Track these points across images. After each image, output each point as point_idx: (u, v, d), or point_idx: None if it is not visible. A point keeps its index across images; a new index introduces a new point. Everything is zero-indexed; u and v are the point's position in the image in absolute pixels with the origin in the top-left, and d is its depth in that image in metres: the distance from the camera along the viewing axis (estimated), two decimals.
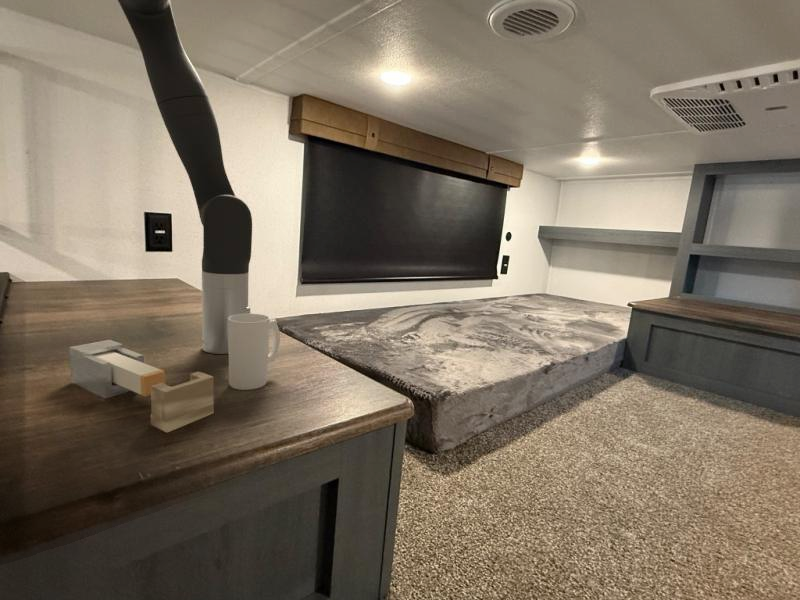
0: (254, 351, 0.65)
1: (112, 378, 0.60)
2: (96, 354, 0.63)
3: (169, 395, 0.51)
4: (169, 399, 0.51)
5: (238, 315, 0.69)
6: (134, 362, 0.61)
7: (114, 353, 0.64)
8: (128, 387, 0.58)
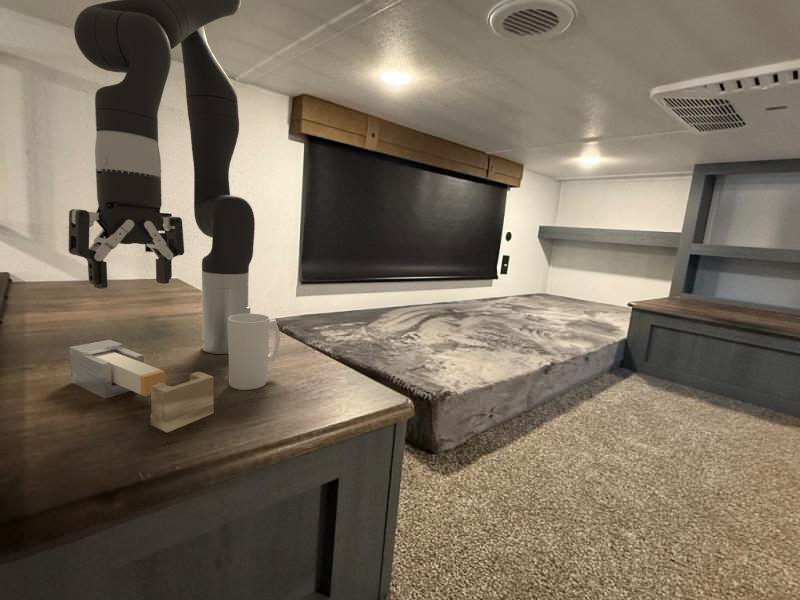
0: (254, 351, 0.65)
1: (112, 378, 0.60)
2: (96, 354, 0.63)
3: (169, 395, 0.51)
4: (169, 399, 0.51)
5: (238, 315, 0.69)
6: (134, 362, 0.61)
7: (114, 353, 0.64)
8: (128, 387, 0.58)
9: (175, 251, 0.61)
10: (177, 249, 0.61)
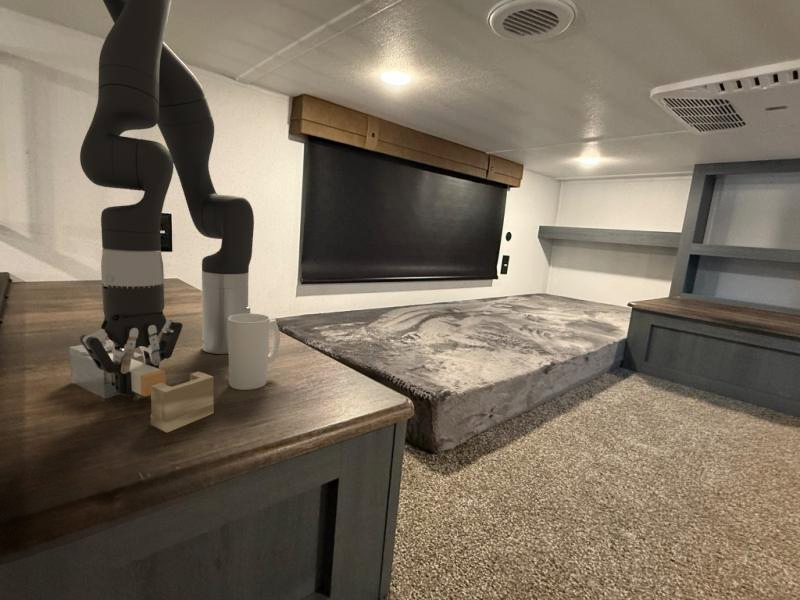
0: (254, 351, 0.65)
1: (112, 378, 0.60)
2: None
3: (169, 395, 0.51)
4: (169, 399, 0.51)
5: (238, 315, 0.69)
6: (134, 362, 0.61)
7: None
8: None
9: (162, 355, 0.62)
10: (164, 353, 0.62)
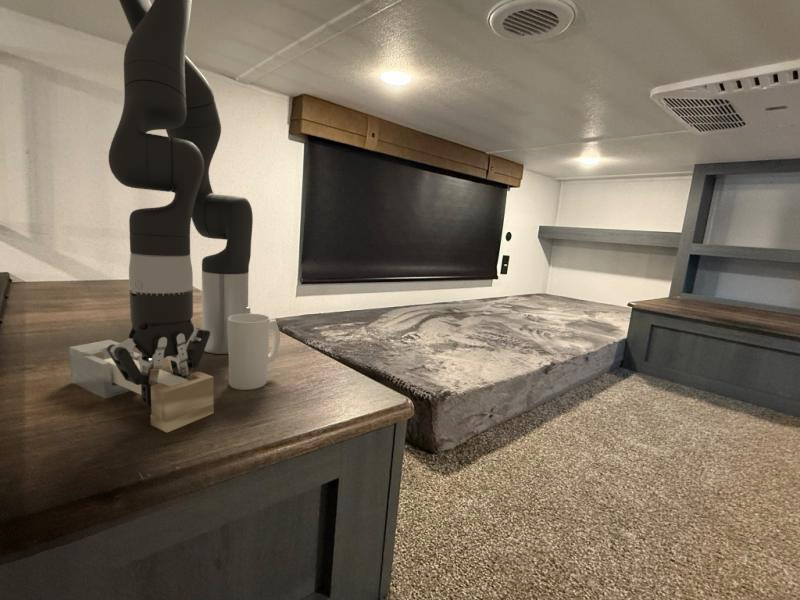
0: (254, 351, 0.65)
1: (138, 389, 0.57)
2: None
3: (169, 395, 0.51)
4: (169, 399, 0.51)
5: (238, 315, 0.69)
6: (160, 372, 0.58)
7: (138, 363, 0.61)
8: None
9: (190, 365, 0.59)
10: (192, 363, 0.59)
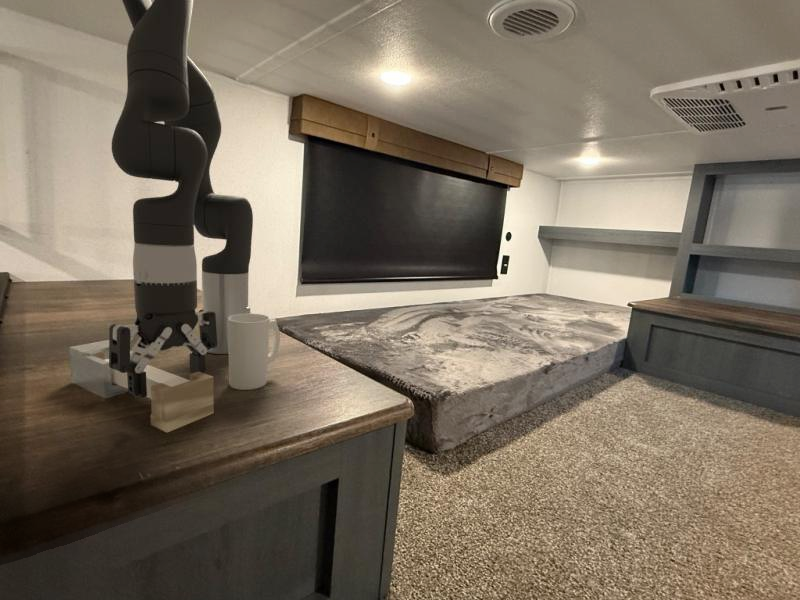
0: (254, 351, 0.65)
1: None
2: None
3: (169, 395, 0.51)
4: (169, 399, 0.51)
5: (238, 315, 0.69)
6: (161, 372, 0.58)
7: None
8: None
9: (209, 345, 0.61)
10: (211, 343, 0.61)
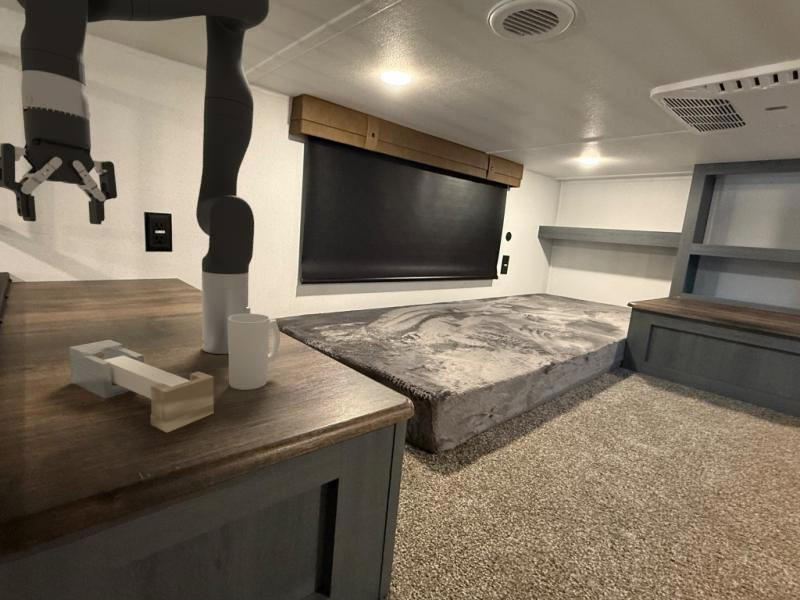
0: (254, 351, 0.65)
1: (138, 389, 0.57)
2: (120, 364, 0.60)
3: (169, 395, 0.51)
4: (169, 399, 0.51)
5: (238, 315, 0.69)
6: (161, 372, 0.58)
7: (139, 363, 0.61)
8: None
9: (107, 194, 0.65)
10: (109, 192, 0.65)
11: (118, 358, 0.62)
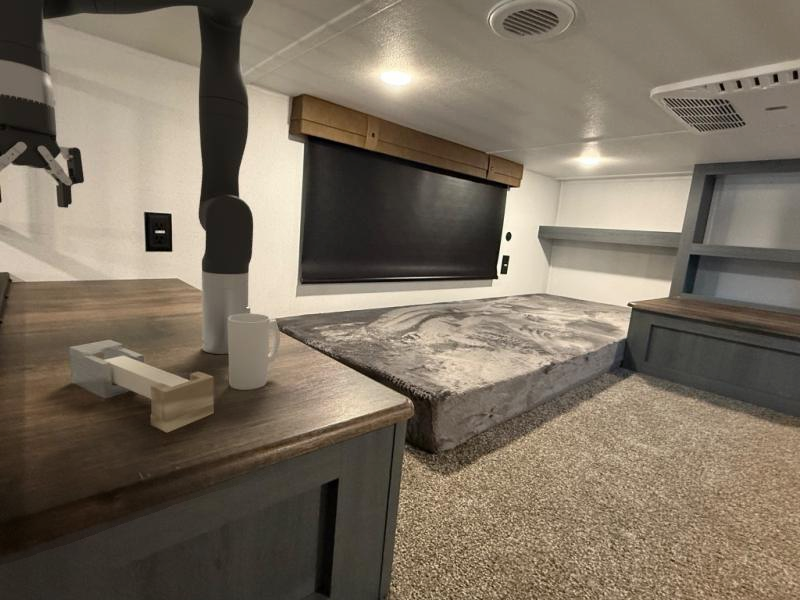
0: (254, 351, 0.65)
1: (138, 389, 0.57)
2: (120, 364, 0.60)
3: (169, 395, 0.51)
4: (169, 399, 0.51)
5: (238, 315, 0.69)
6: (161, 372, 0.58)
7: (139, 363, 0.61)
8: None
9: (74, 179, 0.68)
10: (76, 177, 0.68)
11: (118, 358, 0.62)
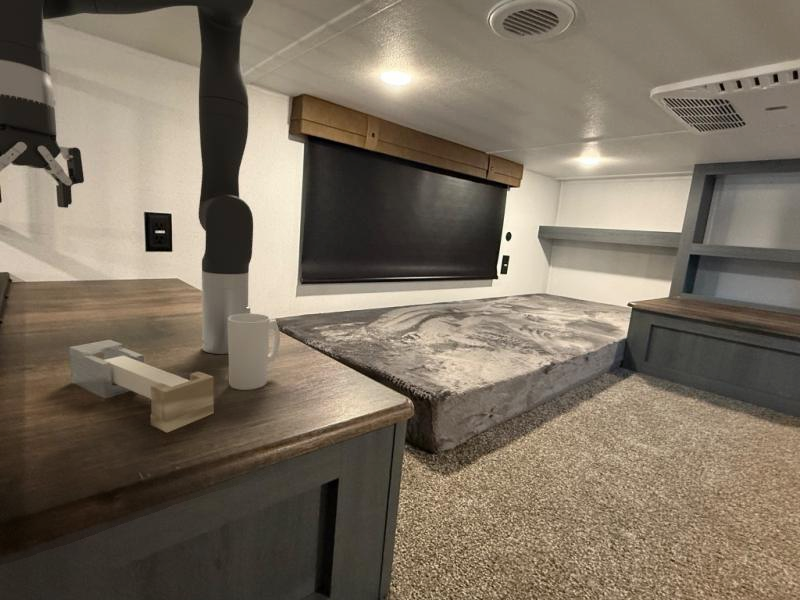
0: (254, 351, 0.65)
1: (138, 389, 0.57)
2: (120, 364, 0.60)
3: (169, 395, 0.51)
4: (169, 399, 0.51)
5: (238, 315, 0.69)
6: (161, 372, 0.58)
7: (139, 363, 0.61)
8: None
9: (74, 179, 0.68)
10: (76, 177, 0.68)
11: (118, 358, 0.62)
